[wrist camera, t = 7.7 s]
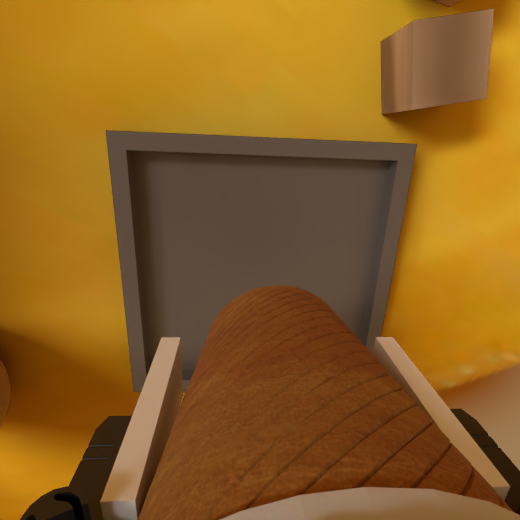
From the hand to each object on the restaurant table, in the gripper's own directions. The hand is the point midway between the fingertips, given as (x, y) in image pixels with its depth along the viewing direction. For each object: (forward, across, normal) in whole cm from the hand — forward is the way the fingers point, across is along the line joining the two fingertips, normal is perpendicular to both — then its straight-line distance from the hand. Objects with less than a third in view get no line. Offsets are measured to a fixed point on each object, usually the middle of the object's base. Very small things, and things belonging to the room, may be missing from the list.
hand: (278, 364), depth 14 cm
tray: (+11, 0, 0) cm, 11 cm away
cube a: (+11, +9, +13) cm, 19 cm away
